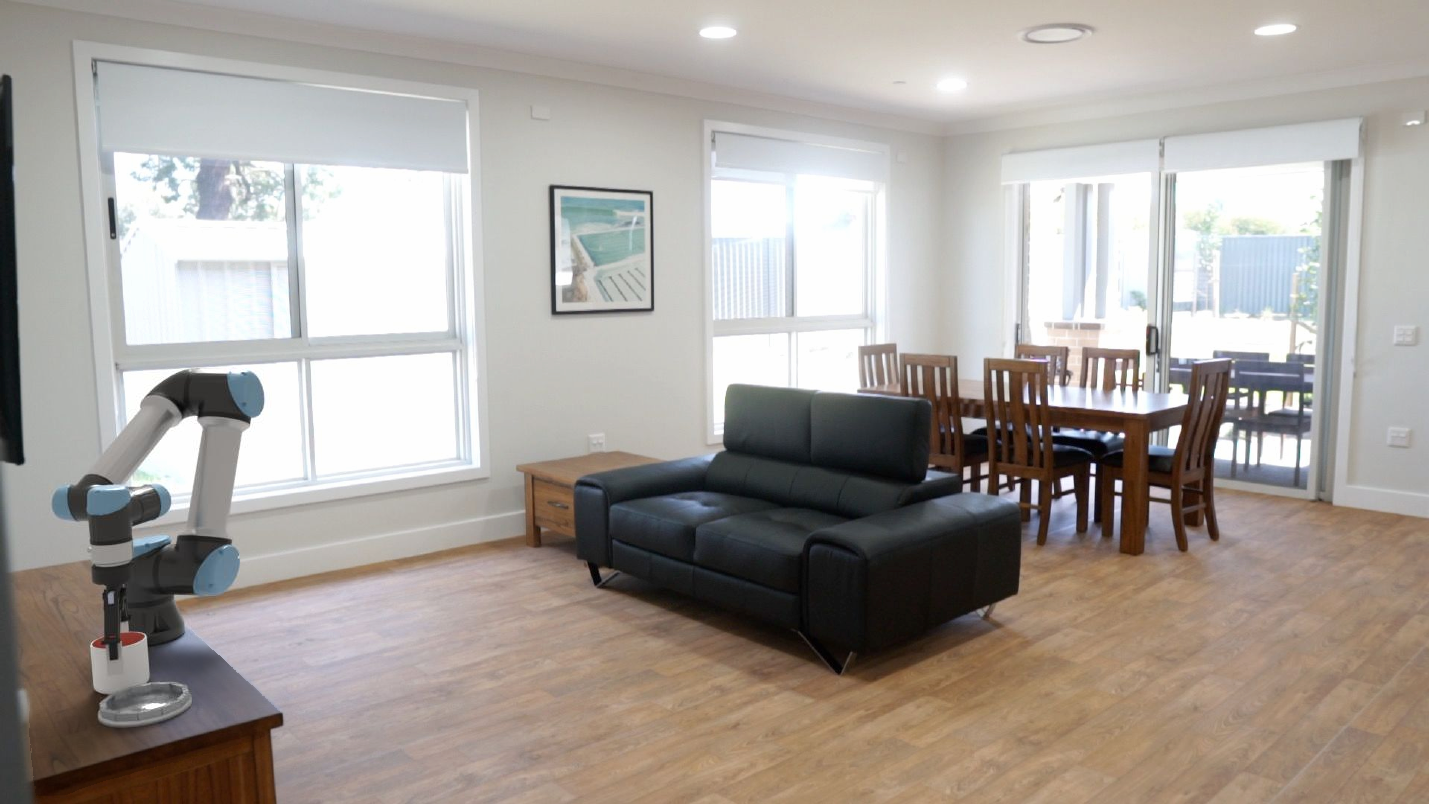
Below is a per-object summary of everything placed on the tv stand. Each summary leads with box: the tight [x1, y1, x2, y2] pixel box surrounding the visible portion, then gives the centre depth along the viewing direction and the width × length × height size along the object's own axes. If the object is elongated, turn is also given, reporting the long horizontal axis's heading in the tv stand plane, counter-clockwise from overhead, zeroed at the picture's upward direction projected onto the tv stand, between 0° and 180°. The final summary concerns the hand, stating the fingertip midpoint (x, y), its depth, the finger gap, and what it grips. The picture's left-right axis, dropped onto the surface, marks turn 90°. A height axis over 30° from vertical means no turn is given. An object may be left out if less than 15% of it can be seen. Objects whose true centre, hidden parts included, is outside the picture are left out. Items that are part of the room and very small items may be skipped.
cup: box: [89, 632, 150, 695], centre depth 209 cm, size 10×10×10 cm
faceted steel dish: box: [97, 681, 193, 729], centre depth 198 cm, size 16×16×2 cm
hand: (119, 663), depth 208 cm, fingers open, 13 cm apart
